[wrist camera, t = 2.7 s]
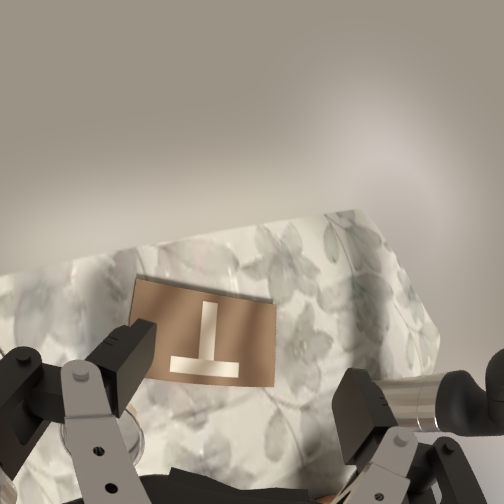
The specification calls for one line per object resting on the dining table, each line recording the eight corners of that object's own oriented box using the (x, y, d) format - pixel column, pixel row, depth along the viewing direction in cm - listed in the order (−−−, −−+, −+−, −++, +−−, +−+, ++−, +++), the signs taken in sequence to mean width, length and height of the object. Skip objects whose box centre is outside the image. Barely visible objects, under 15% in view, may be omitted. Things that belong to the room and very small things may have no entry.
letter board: (273, 306, 43) (276, 304, 42) (270, 386, 38) (274, 386, 37) (136, 280, 35) (136, 278, 34) (124, 374, 30) (124, 374, 29)
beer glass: (75, 377, 27) (48, 389, 14) (129, 378, 30) (140, 391, 18) (83, 432, 25) (67, 476, 12) (137, 431, 28) (155, 475, 15)
